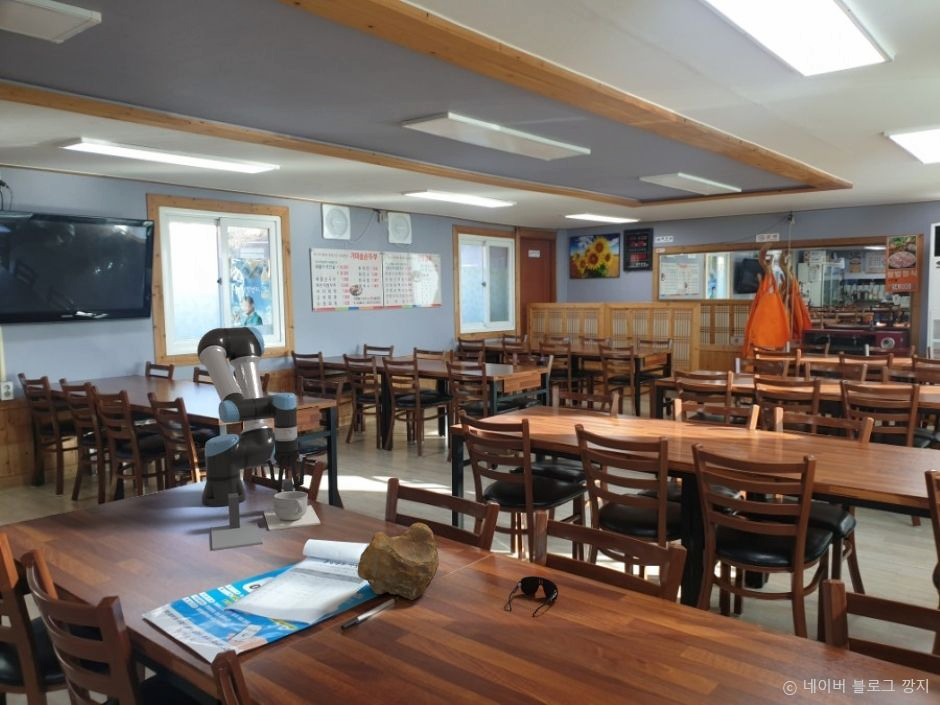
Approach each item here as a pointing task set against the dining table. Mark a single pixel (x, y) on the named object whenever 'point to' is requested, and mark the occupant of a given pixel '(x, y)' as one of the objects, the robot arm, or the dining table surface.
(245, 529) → the gray post stand
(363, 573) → the rough brown rock
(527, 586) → the sunglasses
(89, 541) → the dining table surface
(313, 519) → the grey plate with post
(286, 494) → the teacup
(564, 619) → the dining table surface
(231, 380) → the robot arm
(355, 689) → the dining table surface
